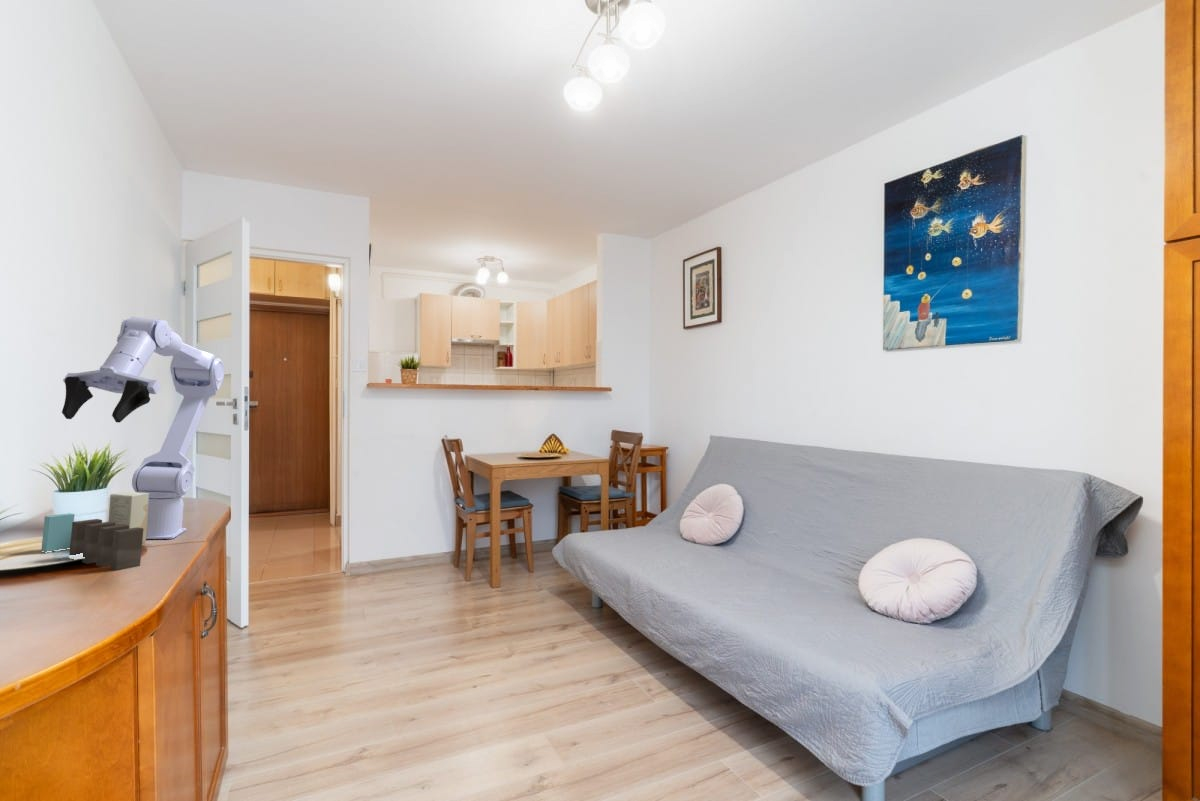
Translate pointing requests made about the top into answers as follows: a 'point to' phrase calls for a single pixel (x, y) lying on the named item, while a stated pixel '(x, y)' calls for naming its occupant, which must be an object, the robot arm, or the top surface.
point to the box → (129, 510)
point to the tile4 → (106, 544)
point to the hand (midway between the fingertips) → (91, 417)
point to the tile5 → (126, 548)
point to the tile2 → (79, 535)
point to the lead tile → (57, 532)
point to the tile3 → (93, 541)
